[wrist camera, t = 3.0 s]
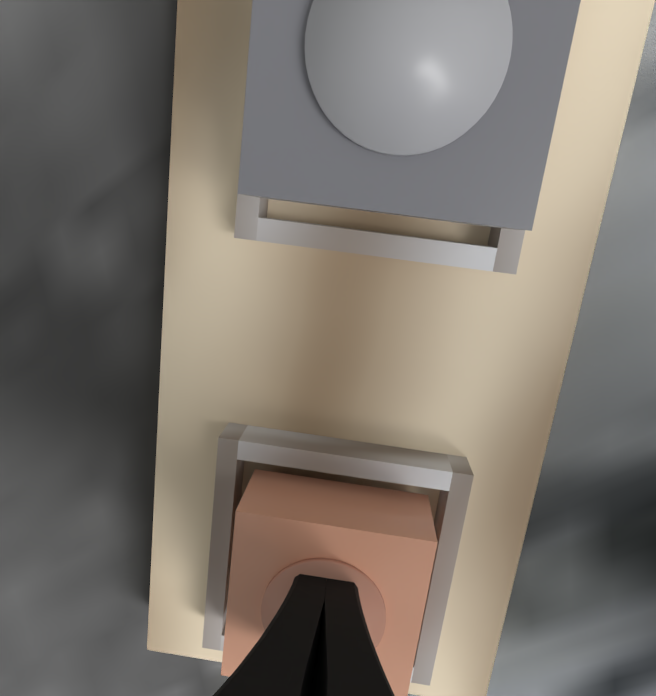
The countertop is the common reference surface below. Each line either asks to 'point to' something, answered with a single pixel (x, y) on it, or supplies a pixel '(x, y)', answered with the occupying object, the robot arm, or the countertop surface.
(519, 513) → the button mount
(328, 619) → the robot arm
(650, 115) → the countertop surface
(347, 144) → the button charcoal
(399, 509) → the button terracotta
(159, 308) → the countertop surface
